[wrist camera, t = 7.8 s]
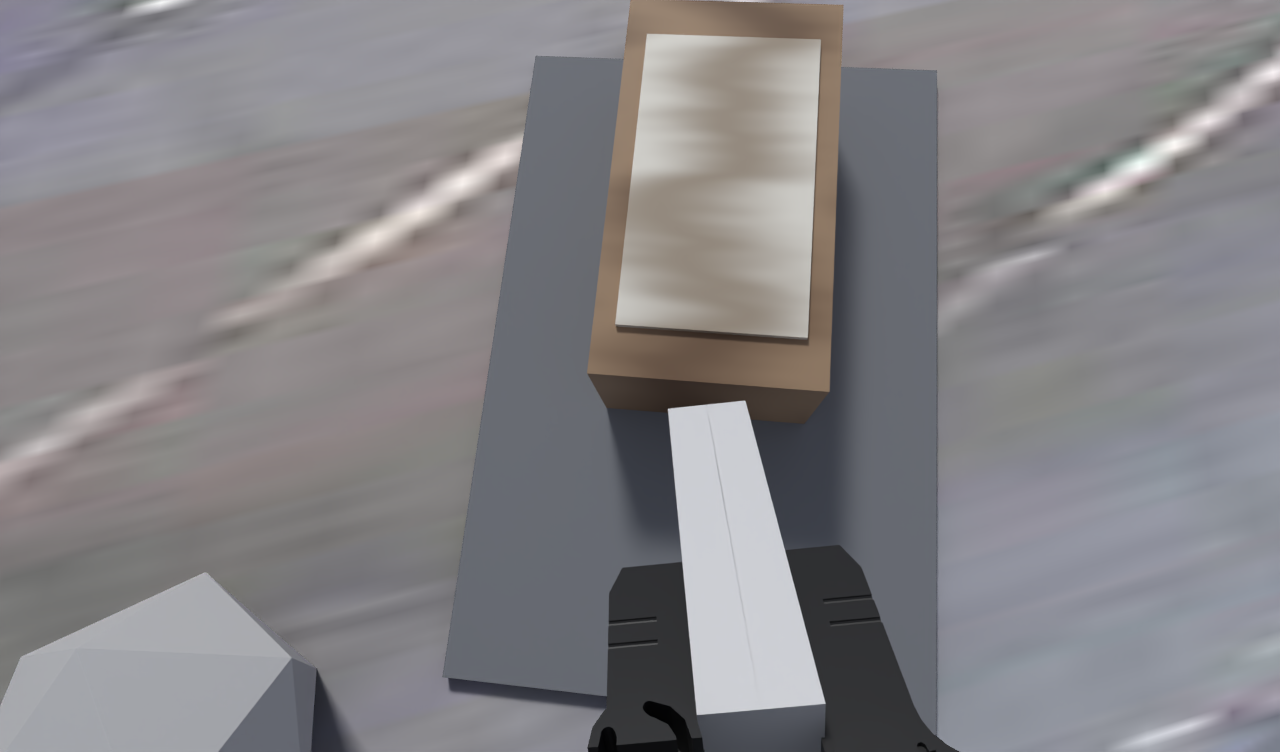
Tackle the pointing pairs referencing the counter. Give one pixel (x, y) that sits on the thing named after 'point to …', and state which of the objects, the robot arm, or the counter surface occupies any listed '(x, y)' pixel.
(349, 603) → the counter surface
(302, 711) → the die
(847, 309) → the mat
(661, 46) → the label block
